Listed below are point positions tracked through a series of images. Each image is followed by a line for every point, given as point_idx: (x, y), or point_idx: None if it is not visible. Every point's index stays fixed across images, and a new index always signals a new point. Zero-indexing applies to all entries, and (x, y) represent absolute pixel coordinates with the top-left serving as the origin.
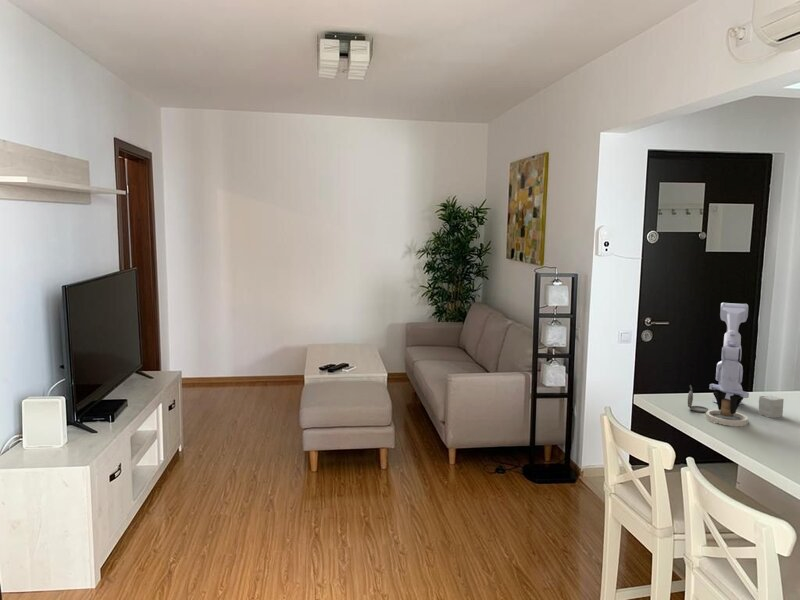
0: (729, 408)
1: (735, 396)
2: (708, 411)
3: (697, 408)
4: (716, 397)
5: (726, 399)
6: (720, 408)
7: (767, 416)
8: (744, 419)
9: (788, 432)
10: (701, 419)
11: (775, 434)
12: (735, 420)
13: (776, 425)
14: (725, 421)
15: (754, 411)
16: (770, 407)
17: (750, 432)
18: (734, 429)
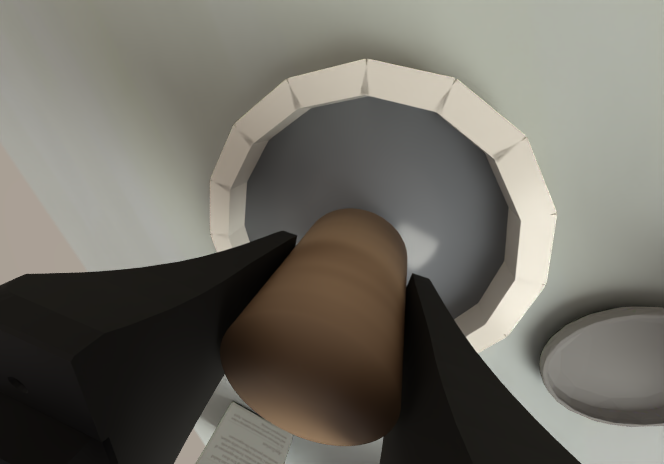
0: (289, 255)
1: (26, 390)
2: (532, 266)
3: (642, 391)
4: (501, 407)
5: (330, 400)
6: (410, 289)
7: (248, 411)
8: (222, 232)
9: (81, 241)
10: (568, 82)
11: (69, 153)
12: (243, 149)
13: None
14: (304, 75)
15: (318, 456)
16: (206, 459)
17: (131, 54)
18: (220, 18)
